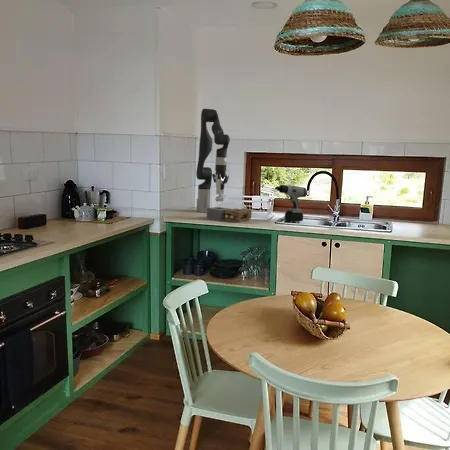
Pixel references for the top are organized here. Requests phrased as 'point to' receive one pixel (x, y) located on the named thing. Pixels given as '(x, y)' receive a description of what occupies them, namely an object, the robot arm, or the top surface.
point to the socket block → (237, 215)
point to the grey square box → (216, 213)
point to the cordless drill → (294, 194)
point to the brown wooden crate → (241, 215)
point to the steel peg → (219, 190)
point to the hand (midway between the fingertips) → (220, 189)
